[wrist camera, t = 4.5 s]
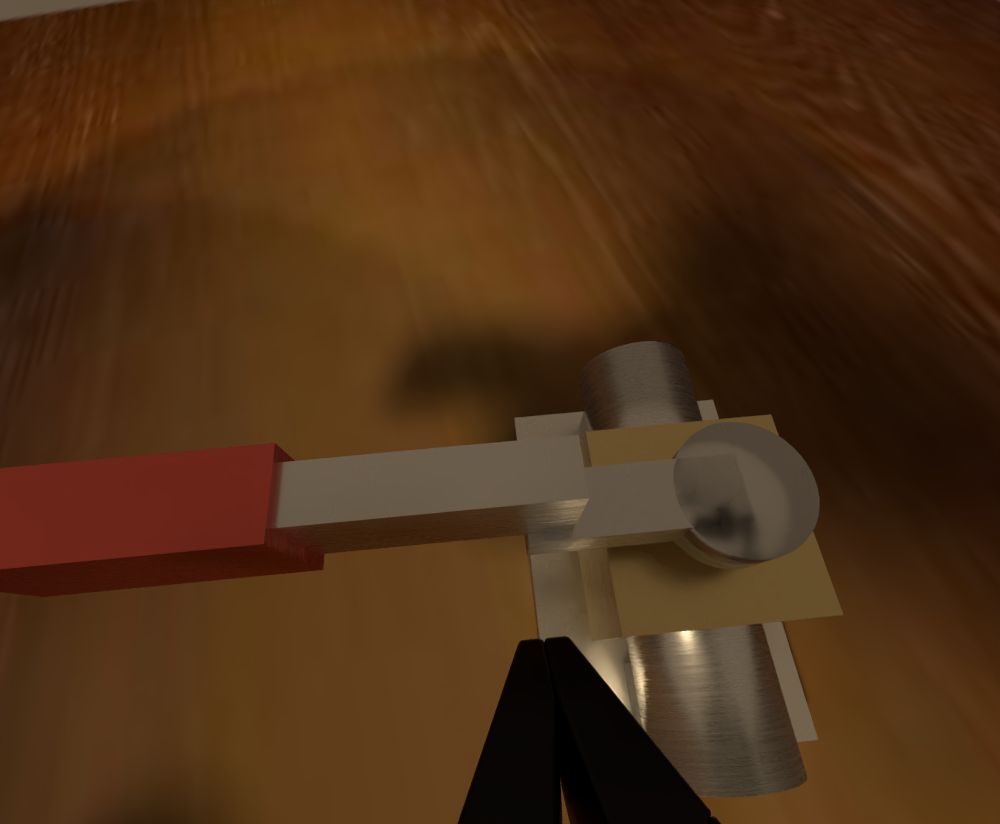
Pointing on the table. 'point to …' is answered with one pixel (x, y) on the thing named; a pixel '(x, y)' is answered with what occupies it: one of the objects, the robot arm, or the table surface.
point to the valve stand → (681, 597)
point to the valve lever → (390, 507)
